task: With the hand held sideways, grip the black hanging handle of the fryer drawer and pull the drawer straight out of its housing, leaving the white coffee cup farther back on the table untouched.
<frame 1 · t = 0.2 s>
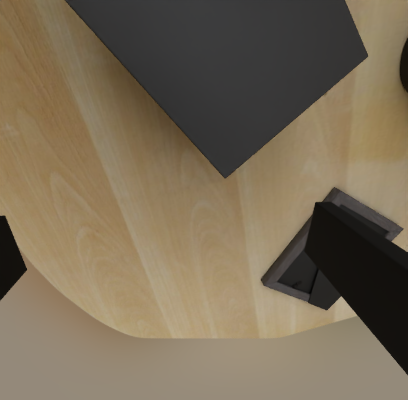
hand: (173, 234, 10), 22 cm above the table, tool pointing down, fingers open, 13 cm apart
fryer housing: (207, 59, 27), on the table
picture frame: (326, 251, 42), on the table
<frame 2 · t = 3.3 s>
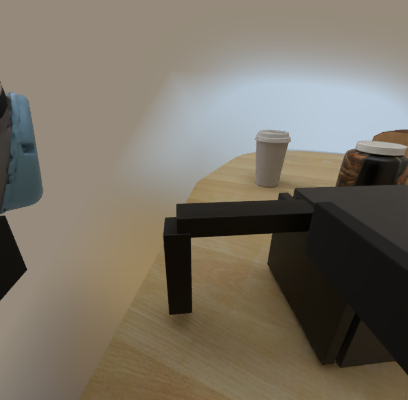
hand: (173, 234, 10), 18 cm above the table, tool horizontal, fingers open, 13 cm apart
fryer drawer: (305, 259, 24), point 7 cm above the table, slide at 0.5 cm
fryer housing: (361, 300, 29), on the table
coffee cup: (266, 184, 67), on the table
jar: (359, 209, 53), on the table
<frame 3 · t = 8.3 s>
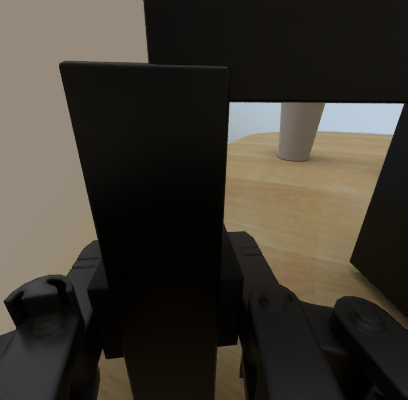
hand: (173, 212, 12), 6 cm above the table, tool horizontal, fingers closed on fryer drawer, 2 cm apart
coffee cup: (292, 158, 51), on the table
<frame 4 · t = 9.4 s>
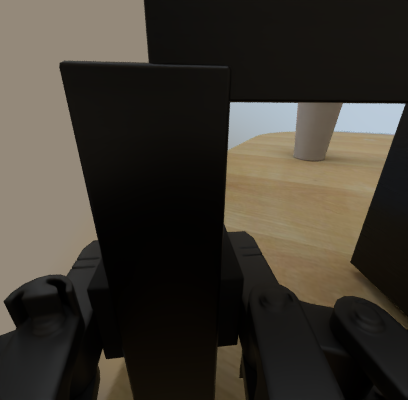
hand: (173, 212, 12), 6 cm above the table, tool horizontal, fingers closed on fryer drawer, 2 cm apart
coffee cup: (308, 158, 51), on the table
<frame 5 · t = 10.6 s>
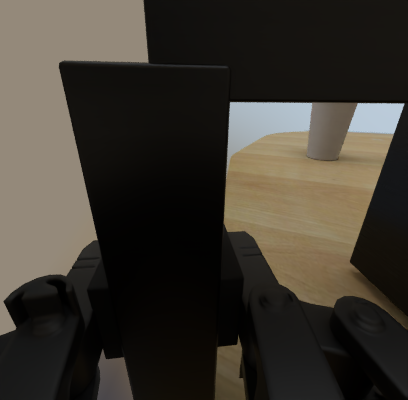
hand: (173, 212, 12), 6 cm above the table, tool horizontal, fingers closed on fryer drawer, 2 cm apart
coffee cup: (321, 157, 52), on the table
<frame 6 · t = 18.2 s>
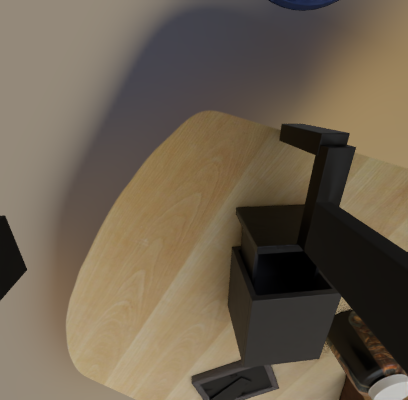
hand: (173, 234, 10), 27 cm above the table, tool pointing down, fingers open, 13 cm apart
fryer drawer: (290, 229, 34), point 7 cm above the table, slide at 7.5 cm
bread: (361, 391, 75), on the table
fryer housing: (261, 275, 48), on the table
picture frame: (236, 378, 63), on the table
jar: (342, 324, 58), on the table
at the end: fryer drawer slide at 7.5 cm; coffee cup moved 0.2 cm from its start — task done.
